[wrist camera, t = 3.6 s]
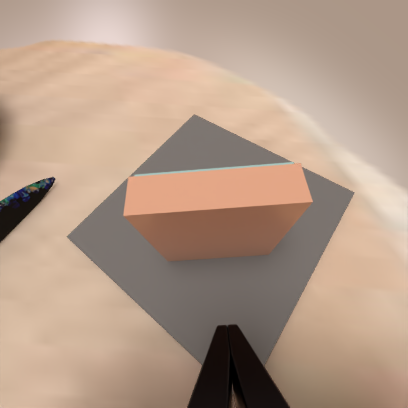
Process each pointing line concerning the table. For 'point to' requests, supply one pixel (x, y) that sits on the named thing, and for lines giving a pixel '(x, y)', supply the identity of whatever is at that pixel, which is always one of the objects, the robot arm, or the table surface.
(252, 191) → the tile
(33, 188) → the knife
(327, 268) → the table surface
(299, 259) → the mat
